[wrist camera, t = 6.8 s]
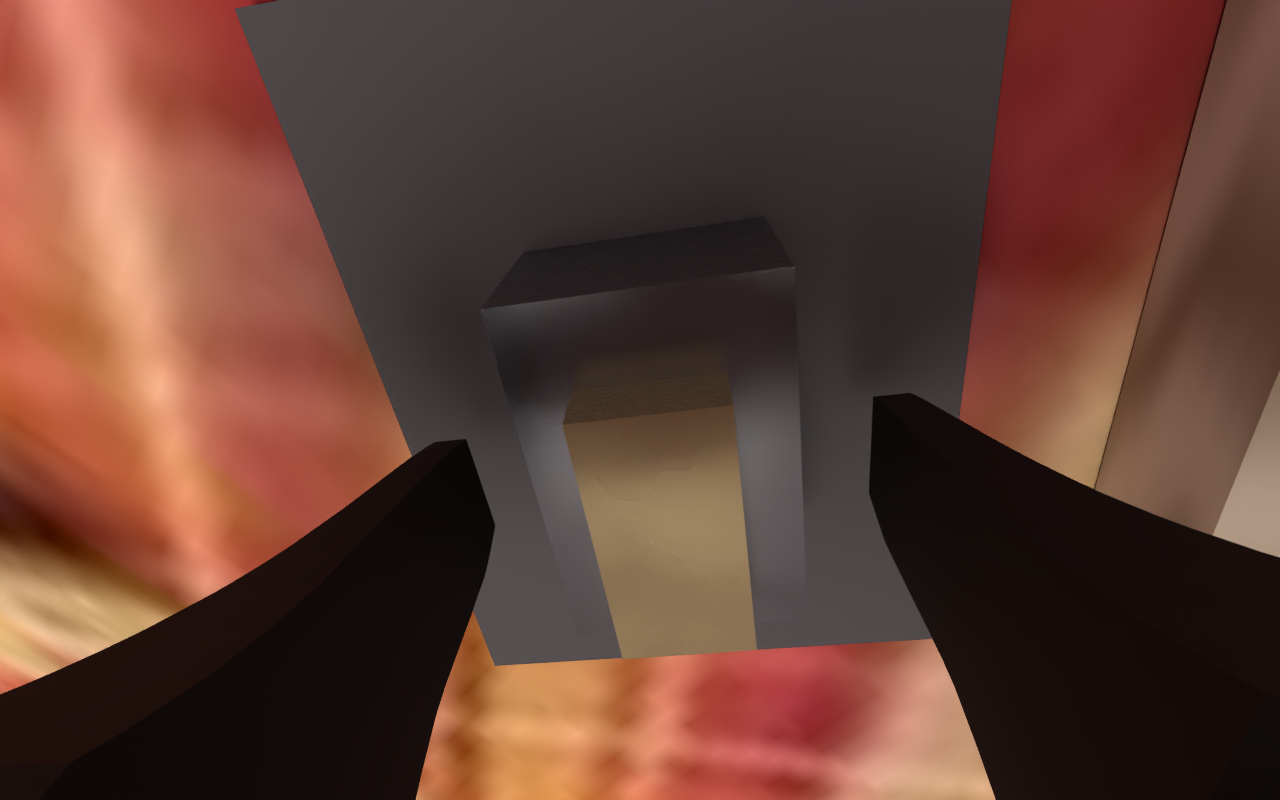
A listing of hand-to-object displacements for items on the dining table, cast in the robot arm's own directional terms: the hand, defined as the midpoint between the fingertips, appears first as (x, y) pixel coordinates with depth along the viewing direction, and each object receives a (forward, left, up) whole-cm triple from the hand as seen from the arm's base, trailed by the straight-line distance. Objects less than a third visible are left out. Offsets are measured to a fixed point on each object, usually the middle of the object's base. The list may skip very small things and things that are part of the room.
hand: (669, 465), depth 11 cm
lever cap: (0, 0, -2) cm, 2 cm away
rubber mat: (0, 0, -3) cm, 3 cm away
